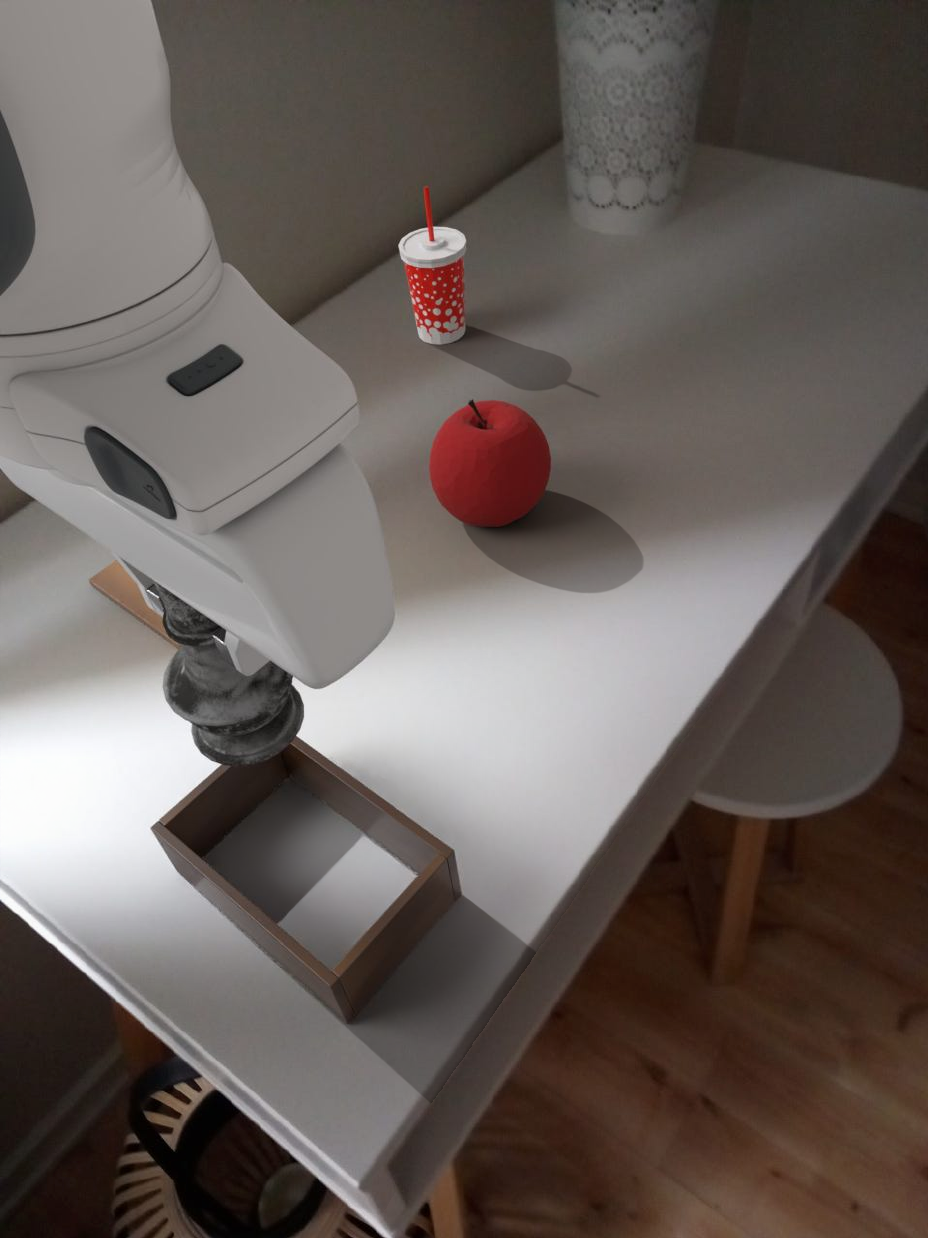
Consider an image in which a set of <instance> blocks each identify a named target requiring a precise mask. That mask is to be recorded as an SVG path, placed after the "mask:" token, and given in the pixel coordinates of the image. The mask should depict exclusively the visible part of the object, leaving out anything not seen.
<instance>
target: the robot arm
mask: <svg viewBox="0 0 928 1238" xmlns="http://www.w3.org/2000/svg"><path fill="white" fill-rule="evenodd" d="M152 2H153V1H152V0H0V470H1V471H2V472H3V473H4V475H5V476H6V478H8V480H9V481H10V482H11V483H12V484H13V485H14V486H15V487H17V488H18V489H19V490H21V491H22V492H24V493H26V494H27V496H30V497H31V498H33V499H34V500H36V501H37V502H39V503H40V504H41V505H43V506H44V507H46V508H47V509H49V510H50V511H52V512H53V513H55V514H56V515H57V516H59V517H61V518H62V519H63V520H65V521H66V522H68V523H69V524H71V525H72V526H74V527H75V528H77V529H78V530H80V531H81V532H82V533H84V534H85V535H86V536H88V537H89V538H91V539H92V540H94V541H95V542H97V543H99V544H100V545H101V546H103V547H104V548H106V549H107V551H109V552H110V553H111V555H112V556H113V557H114V558H115V560H117V561H118V562H119V563H120V564H121V565H122V567H123V568H124V569H125V570H126V572H127V573H128V574H129V575H130V576H131V578H132V579H133V580H134V581H135V582H136V583H137V584H138V587H139V589H140V591H141V593H142V595H143V597H144V599H145V602H146V604H147V606H148V607H149V608H151V609H152V610H154V611H155V612H156V613H157V614H159V615H160V616H162V617H163V614H164V611H165V609H166V608H165V606H164V604H163V602H162V599H161V597H160V595H159V593H158V590H157V588H156V586H155V583H154V581H155V582H157V583H158V584H160V585H161V586H163V587H164V588H165V589H167V590H168V591H170V592H171V593H173V594H174V595H176V596H177V597H179V598H180V599H181V600H183V601H184V602H186V603H187V604H189V605H190V606H192V607H193V608H195V609H196V610H197V611H199V612H200V613H202V614H203V615H205V616H206V617H208V618H209V619H211V620H212V621H214V622H215V623H217V624H218V625H219V626H221V627H222V628H221V629H219V630H218V631H217V632H216V633H214V634H213V635H212V637H213V640H214V642H215V645H216V647H217V648H218V650H219V651H220V653H219V655H220V657H221V658H222V659H223V660H225V661H226V662H227V663H229V664H230V665H231V666H233V667H234V668H235V669H237V670H238V671H239V672H241V673H242V674H244V675H245V676H250V675H253V674H254V673H255V672H257V671H258V670H259V669H260V668H262V667H263V666H264V665H265V664H266V663H268V662H269V661H272V662H273V663H275V664H276V665H278V666H279V667H281V668H282V669H283V670H285V671H286V672H288V673H289V674H291V675H292V676H293V678H294V679H296V680H297V681H299V682H300V683H301V684H303V685H305V686H306V687H308V688H310V689H313V690H322V689H324V688H327V687H328V686H330V685H333V684H334V683H336V682H337V681H339V680H341V679H342V678H343V677H345V676H346V675H347V674H349V673H350V672H351V671H352V670H354V669H355V668H356V667H357V666H359V665H360V664H361V663H363V661H364V660H365V659H367V657H369V656H370V655H371V654H372V653H373V652H374V651H375V650H376V649H377V648H378V647H379V646H380V645H381V644H382V643H383V642H384V641H385V640H386V638H387V637H388V635H389V634H390V632H391V631H392V629H393V626H394V624H395V621H396V620H395V619H396V601H395V594H394V587H393V580H392V574H391V568H390V562H389V557H388V551H387V546H386V542H385V538H384V533H383V529H382V524H381V520H380V516H379V512H378V508H377V504H376V501H375V498H374V495H373V491H372V489H371V487H370V484H369V481H368V480H367V478H366V475H365V474H364V472H363V470H362V468H361V467H360V465H359V464H358V462H357V460H356V459H355V458H354V457H353V455H352V454H351V453H350V452H349V450H348V449H347V448H346V447H345V446H344V445H343V444H342V441H344V440H345V439H346V438H347V437H348V436H349V435H350V434H352V432H354V431H355V430H356V429H357V428H358V427H359V424H360V419H361V416H360V415H361V414H360V406H359V405H360V404H359V400H358V396H357V392H356V389H355V386H354V384H353V382H352V379H351V378H350V376H349V375H348V374H347V372H346V371H345V370H344V369H343V368H342V367H341V366H340V365H339V364H338V363H336V362H335V360H333V359H332V358H330V357H329V356H328V355H327V354H325V352H323V351H322V350H321V349H319V348H318V347H317V346H315V345H314V344H313V343H312V342H311V341H309V339H307V338H306V337H304V336H303V335H302V334H301V333H300V332H298V330H296V329H295V328H294V327H293V326H292V325H290V324H289V323H288V322H287V321H286V320H285V319H283V318H282V317H281V316H280V315H279V314H278V313H277V312H276V311H275V310H274V309H273V308H272V307H271V306H270V305H269V304H268V303H267V302H266V300H264V299H263V298H262V296H260V294H258V292H257V291H256V290H255V289H254V288H253V286H252V285H251V284H250V283H249V282H248V280H247V279H246V278H245V277H244V275H243V274H242V273H241V272H240V271H239V270H238V269H237V268H236V267H234V266H233V265H232V264H231V263H229V262H223V259H222V256H221V253H220V250H219V245H218V243H217V239H216V236H215V231H214V228H213V223H212V220H211V217H210V214H209V211H208V209H207V207H206V204H205V201H204V200H203V197H201V194H200V193H199V191H198V189H197V188H196V185H194V183H193V181H192V180H191V178H190V176H189V175H188V173H187V171H186V169H185V166H184V165H183V161H182V159H181V157H180V154H179V152H178V149H177V146H176V143H175V142H176V141H175V136H174V132H173V125H172V114H171V112H172V111H171V85H172V84H171V75H170V68H169V67H170V66H169V62H168V58H167V55H166V51H165V47H164V43H163V40H162V36H161V33H160V29H159V26H158V25H159V24H158V22H157V18H156V14H155V9H154V6H153V3H152ZM153 580H154V581H153Z"/></svg>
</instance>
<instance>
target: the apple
mask: <svg viewBox="0 0 928 1238" xmlns="http://www.w3.org/2000/svg"><path fill="white" fill-rule="evenodd" d="M551 456H552V455H551V450H550V444H549V442H548V440H547V437H546V435H545V433H544V431H543V429H542V428H541V426H540V425H539V424H538V423H537V422H536V420H535V419H534V417H532V416H531V415H530V413H528V412H527V411H526V410H524V409H522V408H521V407H519V406H517V405H515V404H513V403H510V402H507V401H502V400H495V399H489V400H488V399H487V400H479V401H474V399H473V398H472V399H470V400H468V401H467V405H465V406H463V407H461V408H460V409H457V410H456V411H455V412H454V413H452V414H451V415H450V416H449V417H448V418H446V420H444V422H443V424H442V425H441V426H440V428H439V429H438V430H437V433H436V435H435V437H434V439H433V442H432V445H431V449H430V454H429V465H428V470H429V471H428V472H429V480H430V483H431V488H432V490H433V492H434V494H435V496H436V499H437V500H438V502H439V503H440V505H441V507H443V508H444V509H445V511H447V512H448V513H449V514H450V515H451V516H452V517H454V518H455V519H456V520H458V521H459V522H462V523H464V524H466V525H470V526H475V527H481V528H482V527H490V528H491V527H492V528H493V527H495V528H496V527H498V528H499V527H500V528H501V527H505V526H506V525H509V524H511V523H513V522H515V521H517V520H519V519H521V518H522V517H524V516H525V515H527V514H528V513H529V512H530V511H531V510H532V509H533V508H534V507H535V506H536V505H537V504H538V502H540V499H541V498H542V496H543V495H544V493H545V490H546V489H547V486H548V483H549V479H550V475H551V469H552V457H551Z"/></svg>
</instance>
